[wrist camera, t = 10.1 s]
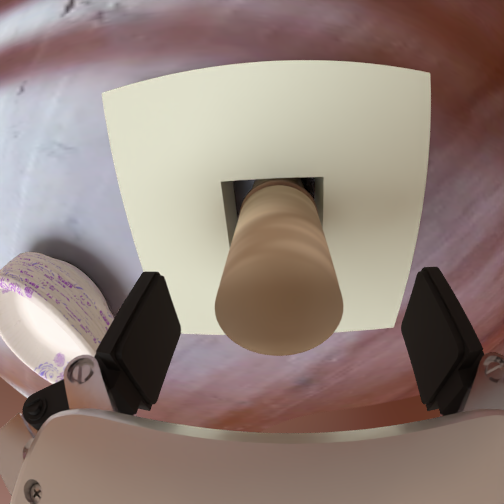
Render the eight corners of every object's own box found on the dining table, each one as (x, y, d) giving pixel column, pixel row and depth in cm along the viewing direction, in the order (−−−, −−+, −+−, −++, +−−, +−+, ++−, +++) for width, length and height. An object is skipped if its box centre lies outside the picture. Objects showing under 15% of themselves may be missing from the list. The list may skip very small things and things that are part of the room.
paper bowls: (55, 205, 21) (-2, 251, 15) (161, 322, 27) (135, 387, 21) (10, 273, 27) (-26, 313, 20) (90, 354, 33) (66, 401, 26)
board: (401, 73, 14) (430, 72, 11) (381, 295, 24) (393, 327, 20) (132, 90, 16) (101, 93, 13) (178, 300, 25) (165, 332, 22)
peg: (309, 161, 18) (352, 255, 8) (309, 220, 20) (337, 354, 10) (244, 164, 19) (202, 259, 8) (249, 222, 21) (222, 355, 11)
